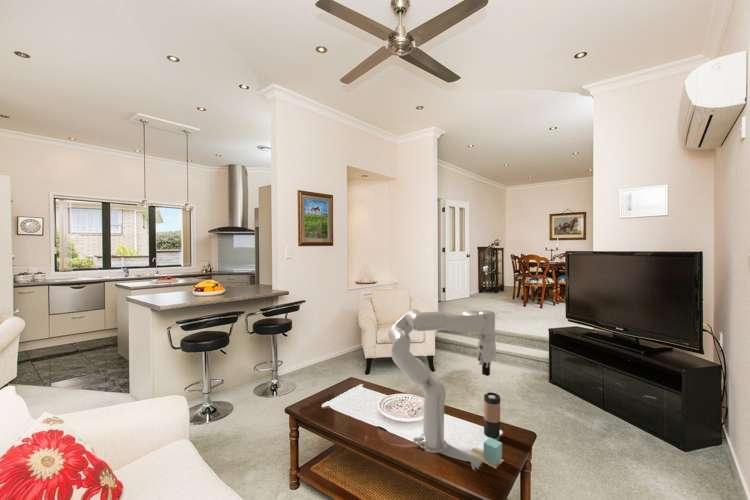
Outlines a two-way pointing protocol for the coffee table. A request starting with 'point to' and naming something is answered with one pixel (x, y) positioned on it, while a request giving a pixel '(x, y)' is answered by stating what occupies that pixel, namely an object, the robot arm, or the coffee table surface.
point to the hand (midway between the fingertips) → (486, 374)
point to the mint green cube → (492, 450)
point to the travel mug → (492, 415)
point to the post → (492, 462)
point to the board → (481, 456)
